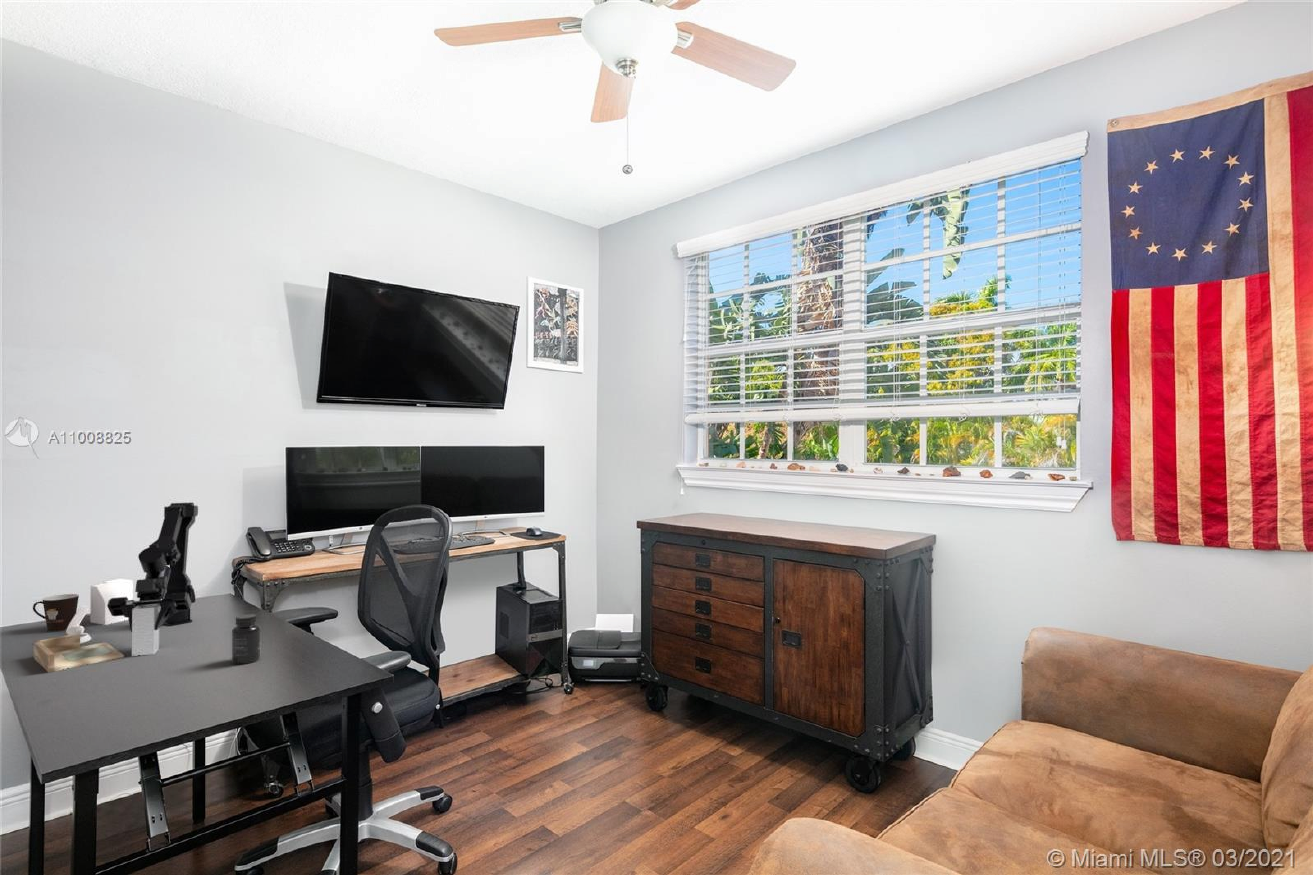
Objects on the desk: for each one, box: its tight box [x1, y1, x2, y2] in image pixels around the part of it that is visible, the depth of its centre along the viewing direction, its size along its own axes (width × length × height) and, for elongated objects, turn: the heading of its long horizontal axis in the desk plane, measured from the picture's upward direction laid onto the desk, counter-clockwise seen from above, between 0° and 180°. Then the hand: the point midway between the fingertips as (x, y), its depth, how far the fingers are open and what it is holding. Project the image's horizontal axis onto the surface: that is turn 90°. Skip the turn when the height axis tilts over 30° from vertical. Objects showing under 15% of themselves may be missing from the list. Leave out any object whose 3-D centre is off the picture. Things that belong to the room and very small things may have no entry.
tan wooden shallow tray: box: [33, 634, 125, 674], centre depth 184 cm, size 16×19×4 cm
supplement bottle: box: [230, 613, 262, 665], centre depth 182 cm, size 7×7×12 cm
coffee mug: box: [32, 593, 80, 633], centre depth 213 cm, size 12×9×10 cm
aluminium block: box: [131, 604, 161, 657], centre depth 188 cm, size 5×5×13 cm
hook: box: [65, 605, 92, 644], centre depth 201 cm, size 8×12×7 cm
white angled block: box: [89, 578, 134, 626], centre depth 224 cm, size 11×11×12 cm
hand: (143, 630), depth 187 cm, fingers closed on aluminium block, 5 cm apart
